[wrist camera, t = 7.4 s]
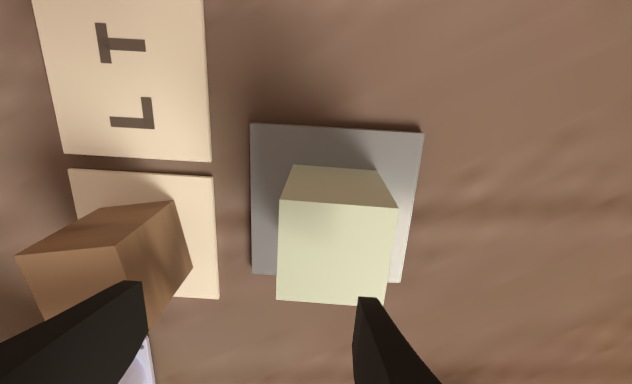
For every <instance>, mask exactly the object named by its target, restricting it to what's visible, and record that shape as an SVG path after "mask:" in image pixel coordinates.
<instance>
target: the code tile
mask: <svg viewBox="0 0 632 384" xmlns="http://www.w3.org/2000/svg"><path fill="white" fill-rule="evenodd" d="M32 5H33V10H34V15H35V19H36V24H37V29H38V33H39V38H40V43H41V48H42V52H43V57H44V62H45V67H46V71H47V76H48V81H49V86H50V90H51V95H52V100H53V104H54V109H55V114H56V119H57V123H58V128H59V133H60V138H61V142H62V147H63V152H64V154H80V155H97V156H114V157H131V158H147V159H164V160H181V161H198V162H212V149H211V131H210V113H209V95H208V77H207V59H206V41H205V23H204V5H203V0H32Z"/></svg>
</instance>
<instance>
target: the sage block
mask: <svg viewBox="0 0 632 384" xmlns="http://www.w3.org/2000/svg"><path fill="white" fill-rule="evenodd" d="M398 214H399V207H398V205H397V204H396V202H395V200H394V198H393V197H392V195H391V193H390V192H389V190H388V188H387V186H386V185H385V183H384V181H383V179H382V178H381V176H380V174H379V173H378V171H376V170H363V169H349V168H336V167H323V166H309V165H296V164H293V166H292V169H291V171H290V174H289V177H288V179H287V182H286V184H285V187H284V189H283V192H282V194H281V197H280V199H279V225H278V255H277V285H276V300H288V301H301V302H314V303H327V304H340V305H353V306H357V302H358V296H362V297H376V298H377V299H378V300H379V301H380V302H381V304H382V306H383V304H384V298H385V292H386V286H387V280H388V274H389V268H390V262H391V256H392V250H393V244H394V238H395V232H396V226H397V220H398Z"/></svg>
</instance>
